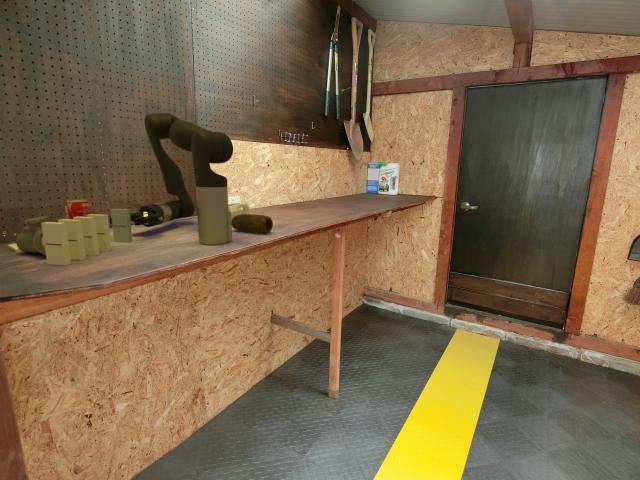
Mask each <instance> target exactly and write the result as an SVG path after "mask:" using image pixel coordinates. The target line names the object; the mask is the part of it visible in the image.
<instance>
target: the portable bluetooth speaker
mask: <svg viewBox="0 0 640 480" xmlns="http://www.w3.org/2000/svg"><path fill="white" fill-rule="evenodd" d="M231 221H232V229H235V230H237V231H239V232H245V233H251V234H252V233H253V234H260V233H262V234H263V235H264V234H265V235H266V234H269V233H271V231H272V229H273V226H274V222H273V219H272V217H270V216H267V215H264V214H250V213H249V214H241V215H236V216H234V217H233V218H231Z"/></svg>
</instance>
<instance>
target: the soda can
mask: <svg viewBox="0 0 640 480" xmlns="http://www.w3.org/2000/svg"><path fill="white" fill-rule="evenodd" d="M64 211H65V212H64V213H65V214H64V215H65V219H73V217H78V216H79V217H87V215H89V214H93V210H92V205H91V203H90V202H89V199H68V200H66V203H65V206H64Z"/></svg>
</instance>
